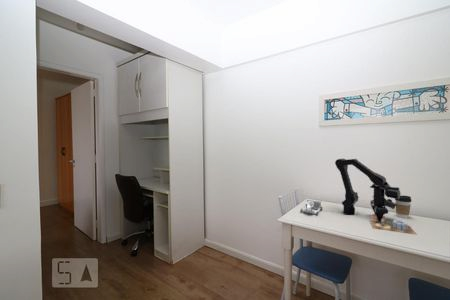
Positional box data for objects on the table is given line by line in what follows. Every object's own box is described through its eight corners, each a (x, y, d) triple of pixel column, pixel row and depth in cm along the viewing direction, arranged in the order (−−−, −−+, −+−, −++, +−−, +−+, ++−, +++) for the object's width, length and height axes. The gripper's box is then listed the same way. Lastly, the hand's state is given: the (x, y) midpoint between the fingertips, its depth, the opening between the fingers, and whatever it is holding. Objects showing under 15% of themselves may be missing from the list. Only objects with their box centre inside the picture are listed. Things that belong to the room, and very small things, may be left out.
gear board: (372, 230, 121) (372, 221, 121) (368, 222, 133) (368, 214, 132) (417, 237, 112) (418, 227, 112) (409, 228, 124) (409, 219, 124)
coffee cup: (412, 222, 133) (413, 198, 132) (395, 219, 137) (395, 196, 136) (409, 217, 140) (410, 195, 139) (393, 215, 144) (393, 193, 143)
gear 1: (373, 221, 134) (373, 216, 133) (371, 218, 139) (371, 213, 139) (385, 223, 131) (385, 218, 131) (383, 220, 137) (383, 214, 136)
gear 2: (398, 230, 118) (398, 224, 118) (390, 225, 124) (390, 220, 124) (409, 230, 117) (410, 224, 117) (401, 225, 124) (401, 220, 123)
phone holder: (316, 203, 142) (299, 200, 149) (316, 217, 143) (299, 214, 150) (322, 197, 157) (306, 195, 164) (322, 210, 157) (306, 207, 164)
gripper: (399, 201, 122) (398, 227, 123) (390, 193, 139) (389, 216, 140) (376, 198, 127) (375, 224, 128) (370, 191, 144) (369, 213, 145)
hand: (378, 219), depth 135 cm, fingers open, 8 cm apart
